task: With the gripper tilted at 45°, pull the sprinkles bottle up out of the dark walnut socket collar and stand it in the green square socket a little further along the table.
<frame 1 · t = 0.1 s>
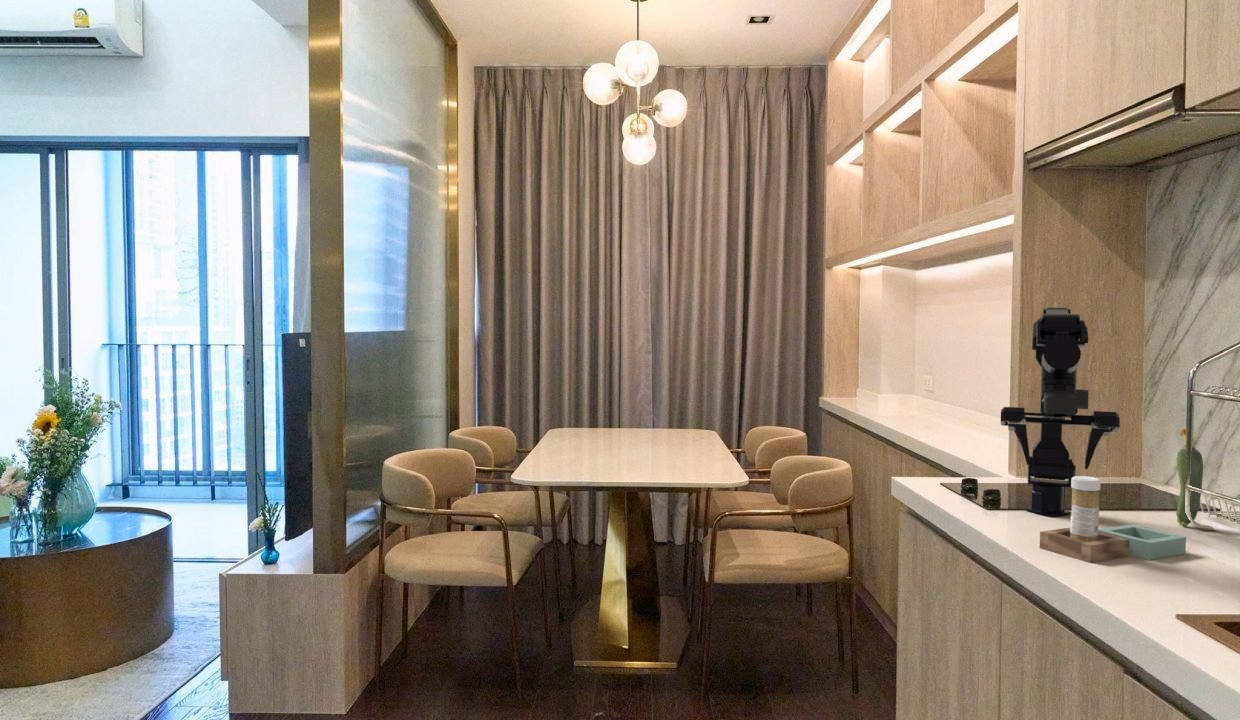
hand: (1056, 467, 149), 15 cm above the worktop, tool pointing down, fingers open, 9 cm apart
green square socket: (1139, 549, 152), on the worktop
sprinkles bottle: (1083, 553, 150), resting in walnut socket
vegetable: (1187, 528, 168), on the worktop
walnut socket: (1083, 551, 150), on the worktop
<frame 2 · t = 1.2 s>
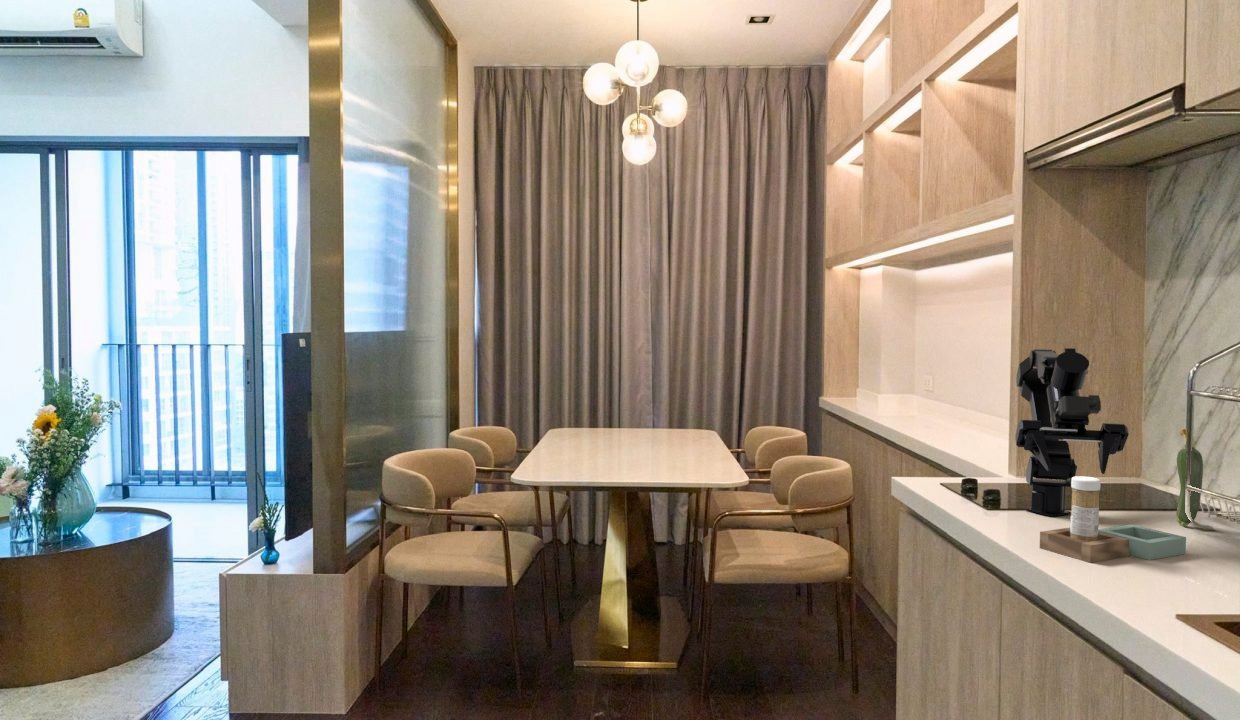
hand: (1076, 471, 156), 13 cm above the worktop, tool tilted 45°, fingers open, 9 cm apart
nothing on the worktop moved.
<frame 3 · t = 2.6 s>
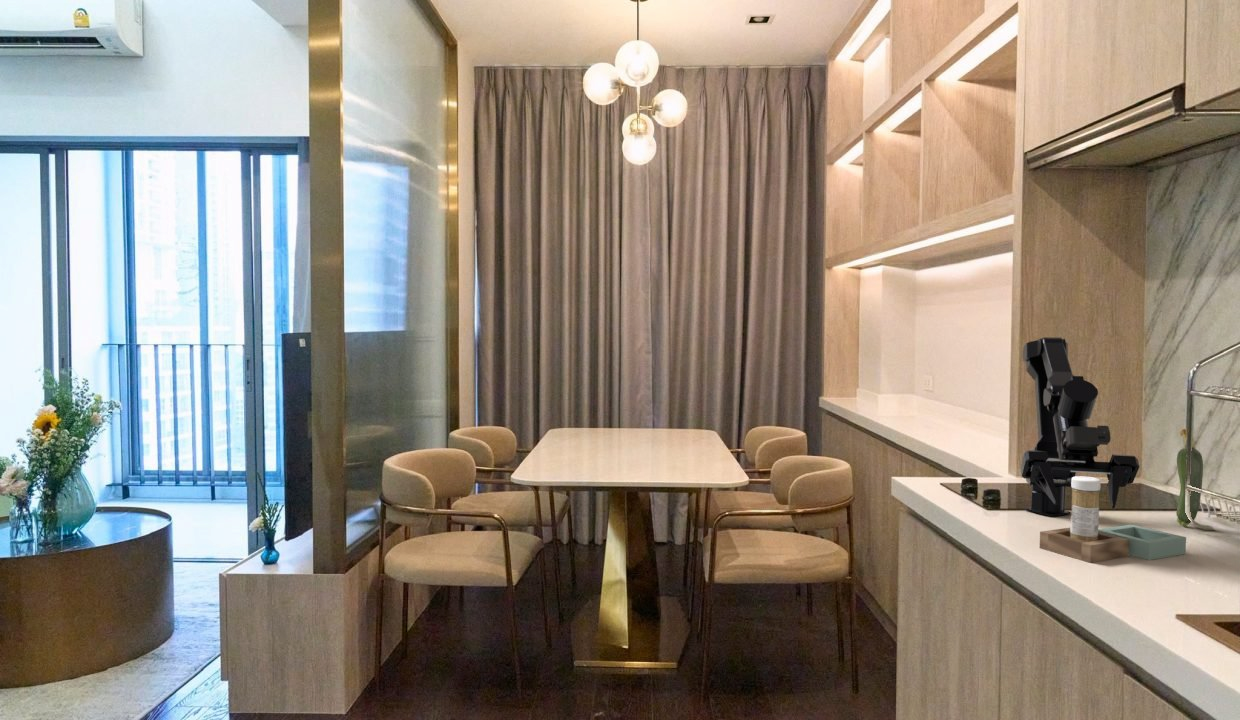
hand: (1084, 505, 150), 8 cm above the worktop, tool tilted 45°, fingers open, 9 cm apart
nothing on the worktop moved.
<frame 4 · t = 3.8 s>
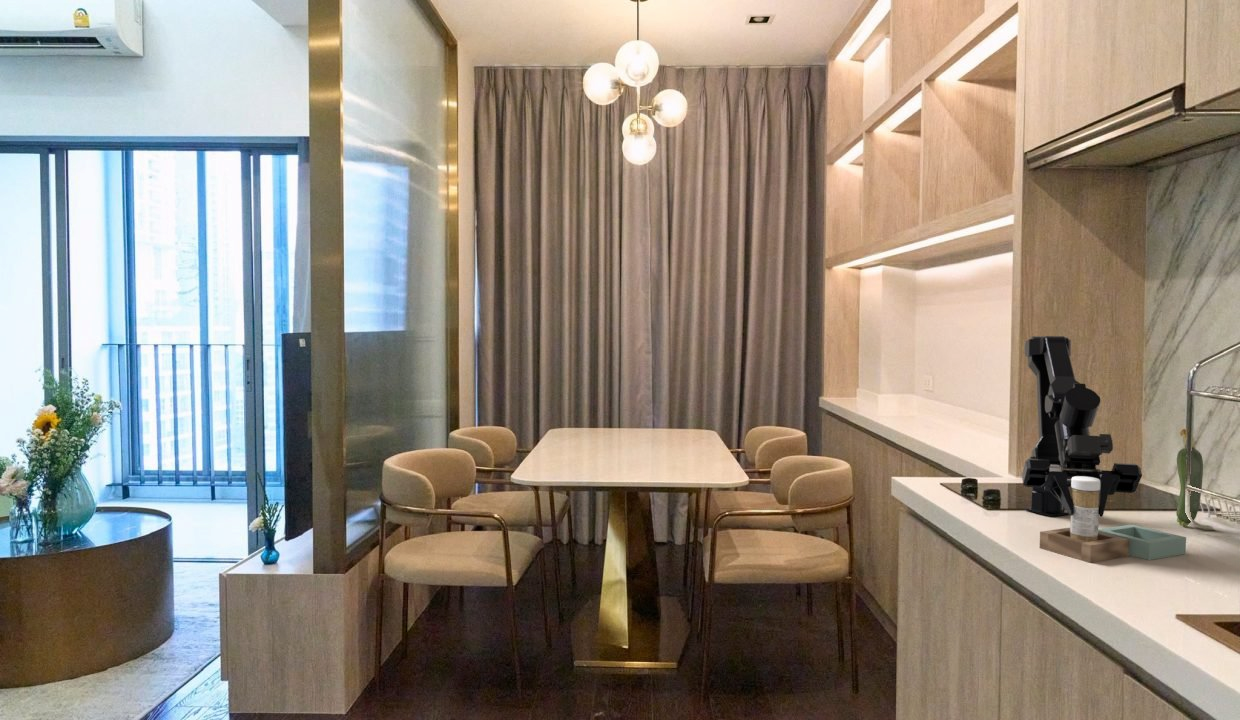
hand: (1086, 514, 148), 7 cm above the worktop, tool tilted 45°, fingers closed on sprinkles bottle, 4 cm apart
sprinkles bottle: (1083, 553, 150), resting in walnut socket, touching gripper
everything else where it was.
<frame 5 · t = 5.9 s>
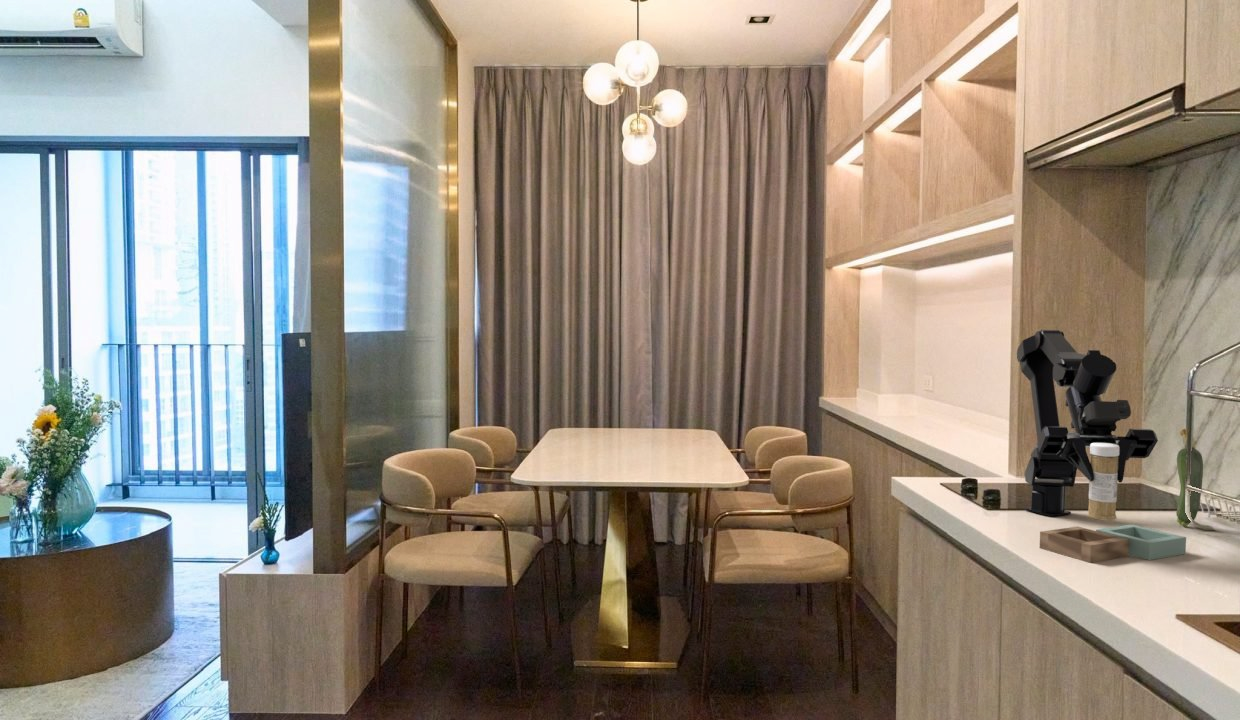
hand: (1106, 480, 148), 13 cm above the worktop, tool tilted 45°, fingers closed on sprinkles bottle, 4 cm apart
sprinkles bottle: (1101, 519, 150), point 6 cm above the worktop, touching gripper
everything else where it was.
when the fingers open (8 cm above the worktop, at t = 8.1 s): sprinkles bottle drops 1 cm, resting in green square socket.
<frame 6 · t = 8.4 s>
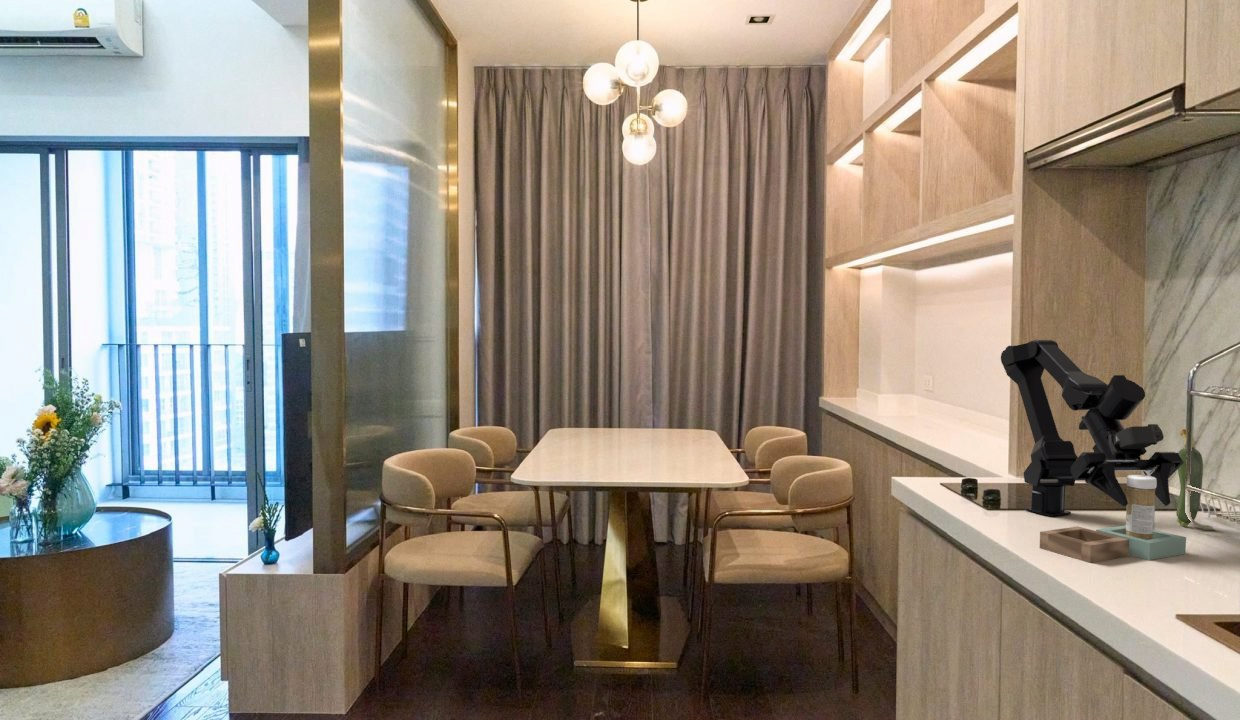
hand: (1146, 504, 150), 9 cm above the worktop, tool tilted 45°, fingers open, 8 cm apart
sprinkles bottle: (1139, 550, 152), resting in green square socket
everything else where it was.
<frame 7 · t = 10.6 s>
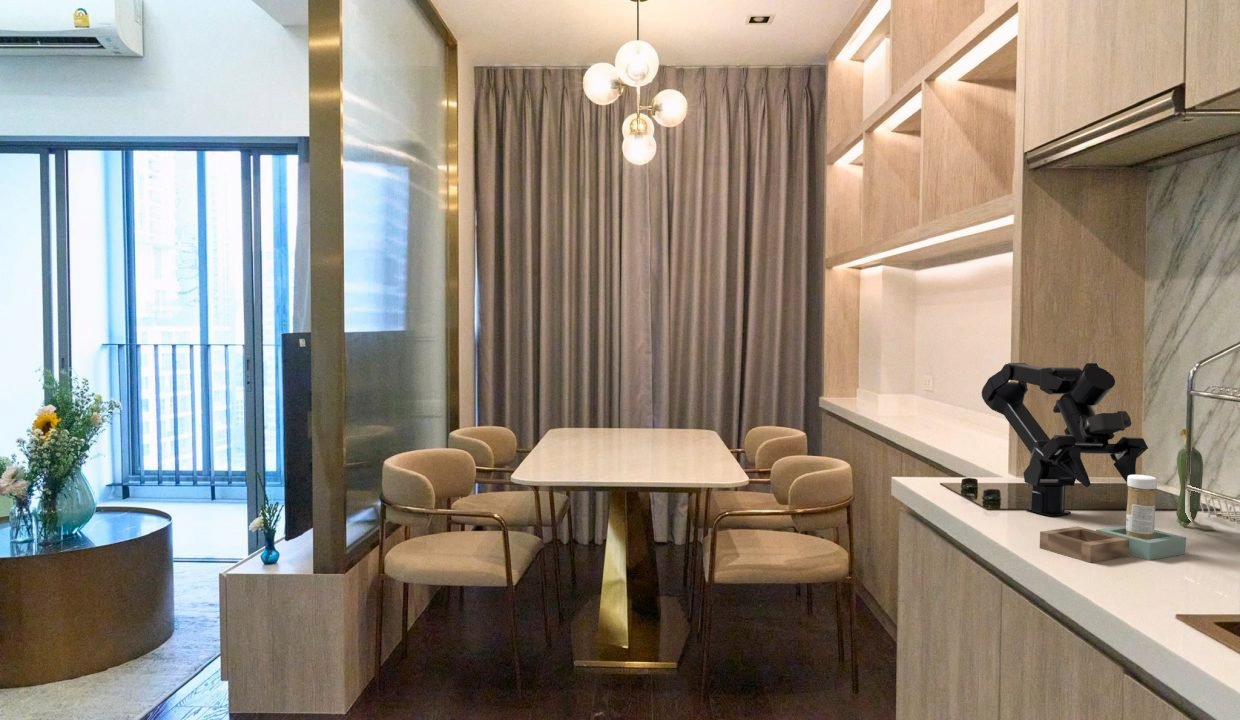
hand: (1111, 486, 159), 10 cm above the worktop, tool tilted 40°, fingers open, 9 cm apart
nothing on the worktop moved.
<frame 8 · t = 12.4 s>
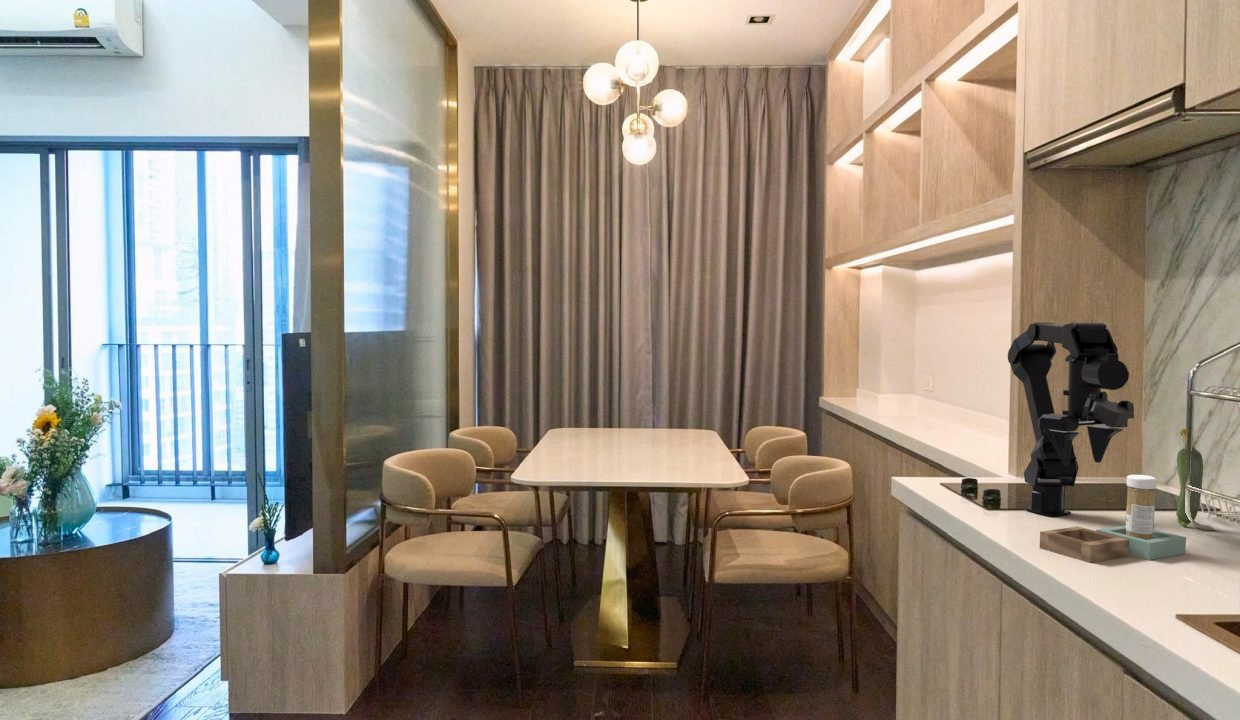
hand: (1082, 463, 166), 13 cm above the worktop, tool pointing down, fingers open, 9 cm apart
nothing on the worktop moved.
at the end: sprinkles bottle 0.2 cm off-centre on the green square socket, point 0.0 cm above the green square socket's base; sprinkles bottle tilted 0°; the gripper is holding nothing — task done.
